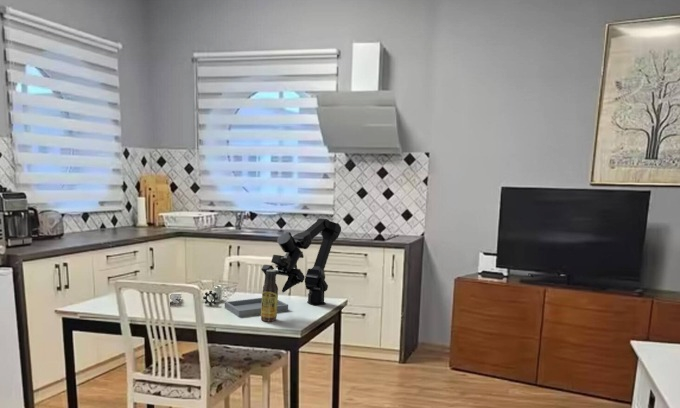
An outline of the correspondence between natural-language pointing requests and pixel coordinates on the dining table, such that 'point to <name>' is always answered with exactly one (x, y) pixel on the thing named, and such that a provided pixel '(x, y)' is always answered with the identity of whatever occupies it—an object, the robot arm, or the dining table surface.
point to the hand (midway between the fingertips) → (273, 290)
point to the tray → (250, 307)
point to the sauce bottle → (269, 297)
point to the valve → (214, 295)
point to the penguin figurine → (175, 297)
